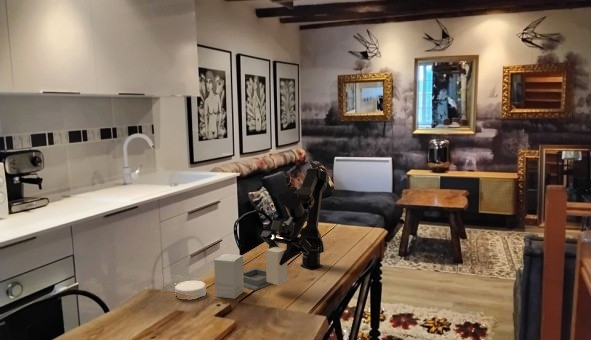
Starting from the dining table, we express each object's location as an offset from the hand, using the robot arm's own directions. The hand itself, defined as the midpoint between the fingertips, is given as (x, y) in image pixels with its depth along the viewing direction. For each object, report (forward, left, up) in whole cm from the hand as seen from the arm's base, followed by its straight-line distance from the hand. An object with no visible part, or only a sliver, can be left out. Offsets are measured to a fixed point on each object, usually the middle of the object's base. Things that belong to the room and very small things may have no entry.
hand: (274, 263), depth 157 cm
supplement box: (+12, -9, -11) cm, 18 cm away
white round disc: (+22, -17, -11) cm, 30 cm away
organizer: (-2, -13, -10) cm, 17 cm away
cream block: (-1, 0, -7) cm, 7 cm away
